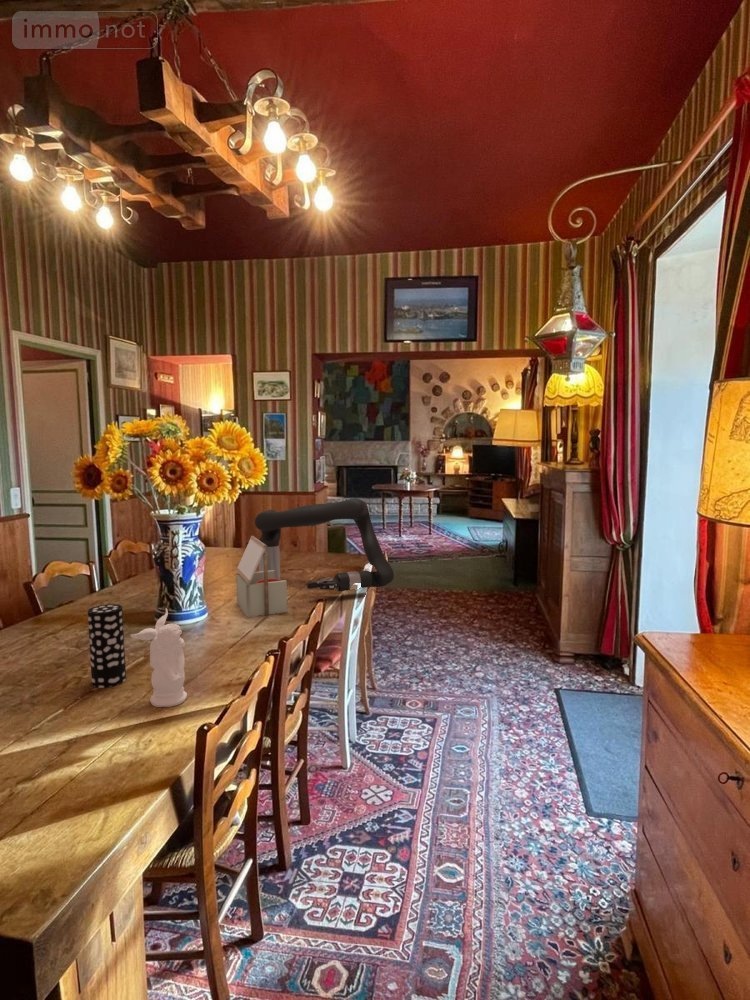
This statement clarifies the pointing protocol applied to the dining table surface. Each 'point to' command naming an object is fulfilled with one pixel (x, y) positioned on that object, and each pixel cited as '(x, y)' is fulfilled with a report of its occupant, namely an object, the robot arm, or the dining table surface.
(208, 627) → the dining table surface
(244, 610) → the cold frame
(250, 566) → the lid
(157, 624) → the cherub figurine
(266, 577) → the prop stick
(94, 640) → the white-spotted black cylinder
